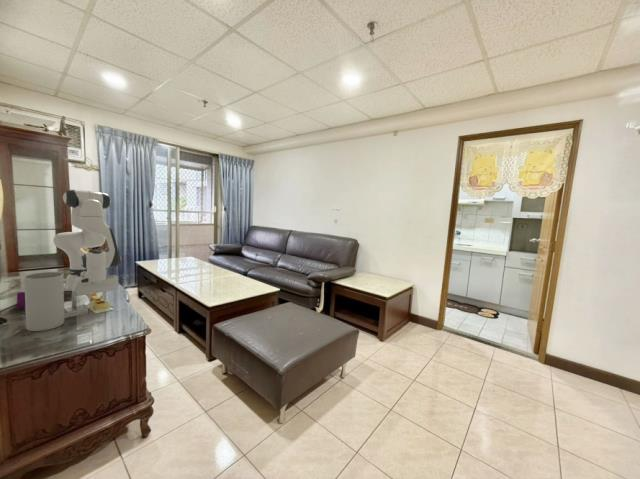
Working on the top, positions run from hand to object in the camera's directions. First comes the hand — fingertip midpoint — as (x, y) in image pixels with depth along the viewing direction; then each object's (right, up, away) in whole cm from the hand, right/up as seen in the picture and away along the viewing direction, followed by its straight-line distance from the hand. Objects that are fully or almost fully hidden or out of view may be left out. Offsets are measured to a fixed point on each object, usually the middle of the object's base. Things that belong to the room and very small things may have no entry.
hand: (96, 299), depth 149 cm
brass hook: (+1, -3, 0) cm, 3 cm away
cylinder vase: (-1, -6, -27) cm, 28 cm away
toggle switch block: (-6, -4, -9) cm, 12 cm away
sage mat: (+2, -4, -1) cm, 5 cm away
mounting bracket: (-33, -2, -5) cm, 33 cm away
